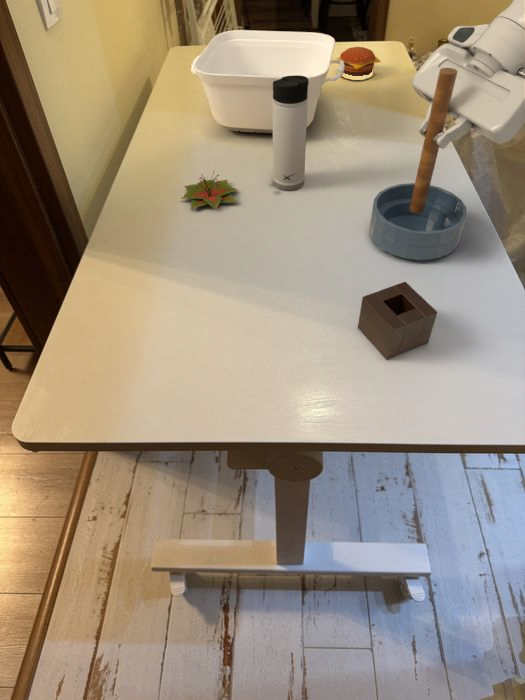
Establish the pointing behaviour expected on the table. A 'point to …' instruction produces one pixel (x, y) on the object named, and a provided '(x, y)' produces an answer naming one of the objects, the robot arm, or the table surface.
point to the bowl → (417, 222)
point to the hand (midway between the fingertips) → (429, 139)
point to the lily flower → (209, 193)
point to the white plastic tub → (261, 73)
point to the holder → (396, 319)
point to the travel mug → (289, 131)
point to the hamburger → (358, 61)
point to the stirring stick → (432, 137)
